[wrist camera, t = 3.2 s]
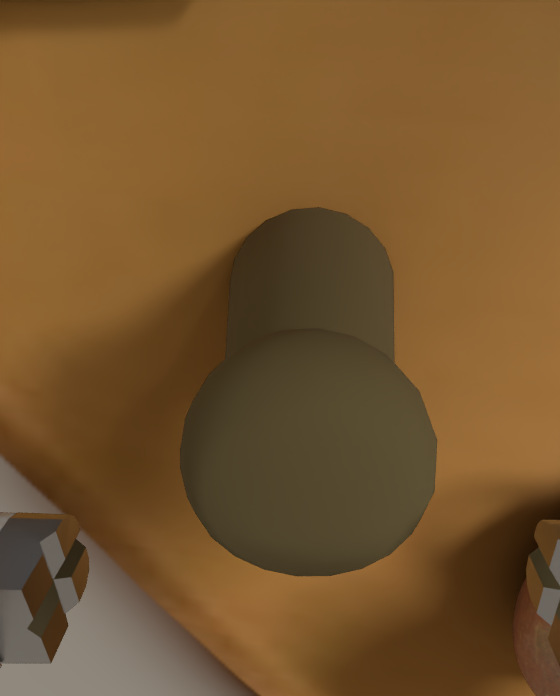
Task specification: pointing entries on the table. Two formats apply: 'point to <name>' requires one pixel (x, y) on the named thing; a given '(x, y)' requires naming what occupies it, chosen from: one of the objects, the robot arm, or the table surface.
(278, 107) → the table surface
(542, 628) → the ceramic jug
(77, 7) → the table surface
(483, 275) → the table surface
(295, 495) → the olive tapered rounded piece
